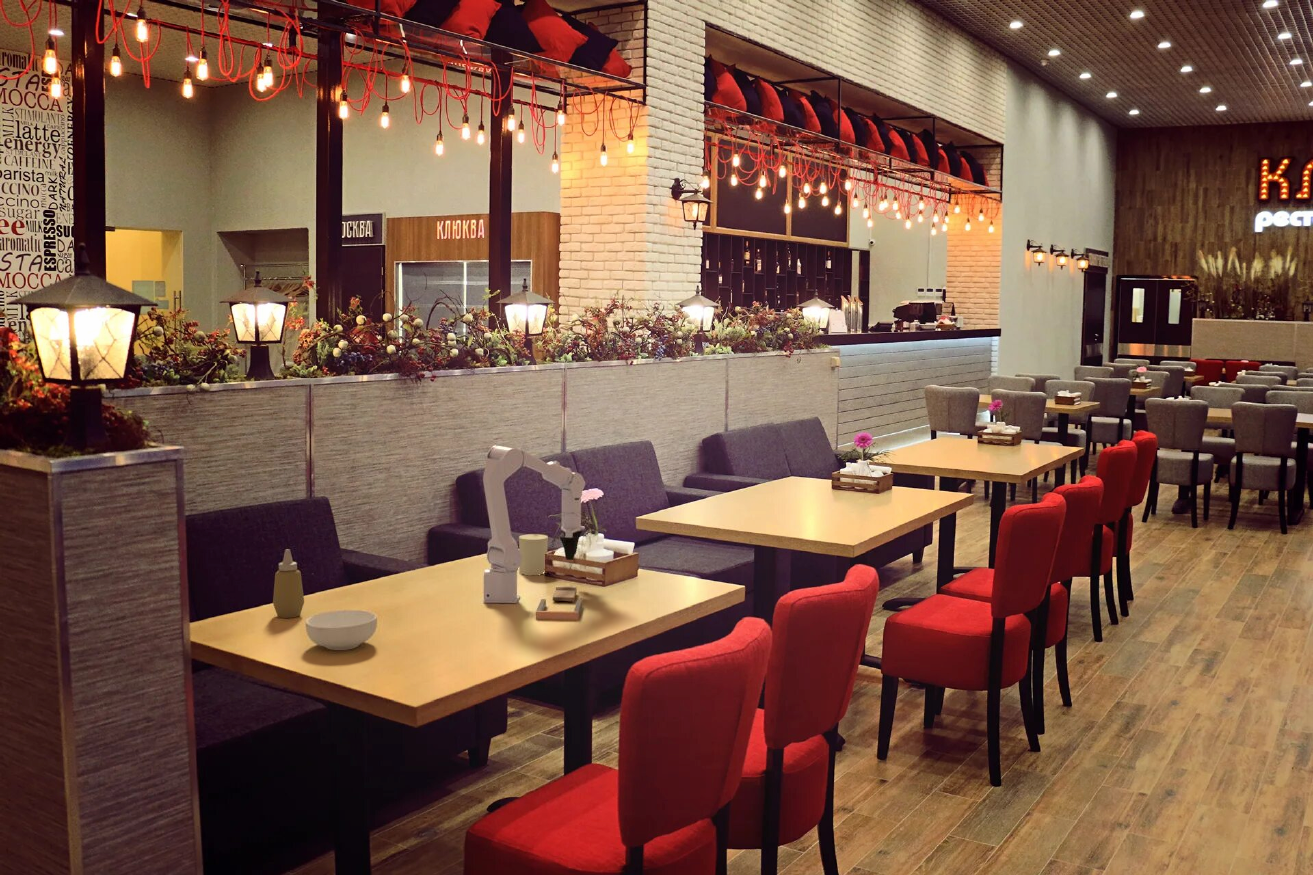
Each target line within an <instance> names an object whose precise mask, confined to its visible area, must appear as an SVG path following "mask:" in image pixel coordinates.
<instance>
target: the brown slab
mask: <svg viewBox="0 0 1313 875" xmlns="http://www.w3.org/2000/svg"><path fill="white" fill-rule="evenodd" d="M577 588H578V586H565V585H563V586H562V585H561V586H560V585H558V586H557V585H556V586H555V591H554V593H553V596H552V601H553V602H555V603H557V602H561V601H562V602H565V601H566V602H569V603H573V602H574V601H575V598H576V596H577V590H578V589H577Z"/></svg>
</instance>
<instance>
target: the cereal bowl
mask: <svg viewBox="0 0 1313 875" xmlns="http://www.w3.org/2000/svg"><path fill="white" fill-rule="evenodd" d="M377 627H378V615H377V614H376V613H374V612H373V611H372V612H371V611H367V610H362V609H359V610H358V609H340V610H331V611H326V612H320V613H318V614H314V615H312V616H310V617H307V619H306V620H305V629H306V633H307V637H308V638H309V640H310V641H311V642H313V644H316V645H318V646H321V647H324V648H326V649H328V650H331V651H347V650H348V651H349V650H351V649H355V648H357V647H358V646H360V644H362V643H365V642H366V641H368V640H370V639H371V638H372V636H374V634H375V633H376V630H377Z"/></svg>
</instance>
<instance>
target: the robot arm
mask: <svg viewBox="0 0 1313 875" xmlns="http://www.w3.org/2000/svg"><path fill="white" fill-rule="evenodd" d="M484 458H485V467H484V472H483V476H482V483H483V489H484V495H485V501H486V507H487V508H486V509H487V515H488V520H489V528H490V531H491V532H490V534H491V539H489V540H488V542H487V552H486V560H487V561H488V564H490V568H488V569H487V568H486V569H484V571H483V572H484V573H483V601H482V602H483V603H485V604H487V603H492V604H495V603H496V604H499V603H500V604H502V603H503V604H508V603H509V604H517V603H518V601H519V599H520V597H521V595H520V594H518V572H519V567H520V565H521V563H522V554H521V552H520V551H519V544H518V542H517V541H516V539H515V538H514V537H513V536H512V531H511V530H512V529H511V525H510V517H509V516H510V515H509V511H508V505H507V503H508V502H507V499H506V492H505V485H504V483H505V481H506V480H507V479H508V478H509V477H510V476H512V475H513V474H514V473H515V472H517V471H518V470H519V469H520V468H524V467H527V468H529V469H531V470H533V471H535V472H538V473H541V477H542V479H543V480H545V481H547V482H549V483H551V484H553V485H555V486H557V487H558V489H560V490H561V526H560V530H561V531H562V534H563V535H560V536H559V540H560V542H561V544H562V546H563V550H564V556H565V560H566V561H573V560H575V559H574V558H575V555H576V554H577V550H578V545H579V539H580V537H581V535H582V532H583V530H585V528H586V527H585V526H583V525H582V523H581V522H582V496H583V491H584V488H585V486H586V481H585V479H584V477H583V476H582V474H581V473H580V472H574V471H572V469H571V468H569V467H564V466H562V465H561V462H559V461H557V460H554V461H549V462H545V461H544V460H542V459H540V458H538V457H537V456H535V455H532V454H531V453H529V452H527V451H525V450H522V449H520V448H517V447H516V448H515V447H509V446H503V445H500V444H499V445H497V444H496V445H493V446H492V447H491V448H490V449H489V450H488V451H487V453H486V454H485V455H484Z"/></svg>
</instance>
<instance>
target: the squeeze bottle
mask: <svg viewBox="0 0 1313 875" xmlns="http://www.w3.org/2000/svg"><path fill="white" fill-rule="evenodd" d="M303 589H304V588H303V581H302V574H301V571H300V570H299V569H298V563H297V562H296V561H293V557H292V553H291V549H288V548H287V549H285V550H284V554H283V560H282V562H279V563H278V570H277V571H276V572H275V573H274V587H273V598H272V604H273V607H274V610H275V612H276V615H277V617H279V618H283V619H286V618H287V619H290V618H291V619H292V618H297V617H299V616H300V615H301V614H302V610H303V607H304V604H305V597H304V590H303Z"/></svg>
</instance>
